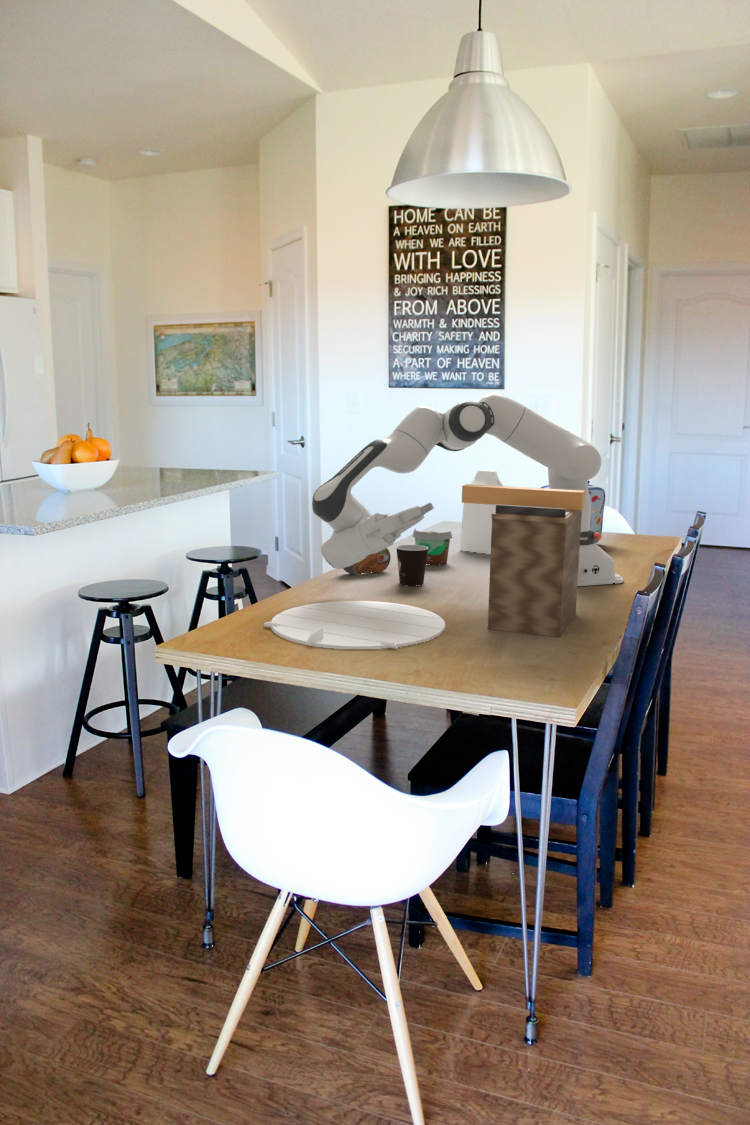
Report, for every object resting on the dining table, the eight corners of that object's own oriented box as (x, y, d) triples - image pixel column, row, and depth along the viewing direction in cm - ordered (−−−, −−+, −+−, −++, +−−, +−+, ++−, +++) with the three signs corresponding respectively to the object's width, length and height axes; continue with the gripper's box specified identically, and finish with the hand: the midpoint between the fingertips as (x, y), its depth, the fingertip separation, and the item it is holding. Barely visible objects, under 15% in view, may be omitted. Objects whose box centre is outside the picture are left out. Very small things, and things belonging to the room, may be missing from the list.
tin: (343, 576, 257) (343, 546, 255) (338, 574, 260) (339, 545, 258) (390, 571, 264) (391, 543, 262) (385, 569, 267) (386, 541, 265)
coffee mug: (424, 588, 244) (425, 551, 242) (393, 586, 245) (393, 549, 243) (431, 579, 255) (431, 543, 253) (400, 577, 256) (401, 542, 254)
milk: (508, 549, 301) (511, 470, 296) (493, 554, 292) (496, 473, 287) (475, 545, 308) (478, 468, 302) (459, 550, 298) (462, 470, 293)
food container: (406, 564, 275) (406, 531, 273) (413, 560, 281) (413, 528, 279) (445, 567, 271) (446, 534, 269) (451, 564, 276) (452, 531, 274)
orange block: (461, 502, 216) (462, 485, 215) (466, 500, 220) (466, 484, 219) (581, 510, 206) (582, 492, 206) (584, 507, 210) (585, 490, 209)
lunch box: (585, 539, 322) (589, 477, 318) (607, 544, 313) (611, 480, 309) (527, 546, 307) (530, 481, 303) (548, 551, 299) (552, 484, 294)
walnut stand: (487, 629, 204) (491, 505, 198) (510, 606, 225) (515, 494, 219) (559, 637, 198) (566, 510, 193) (576, 613, 219) (582, 497, 214)
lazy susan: (391, 663, 180) (391, 647, 179) (232, 634, 198) (232, 619, 198) (472, 619, 214) (473, 605, 213) (330, 598, 233) (330, 585, 232)
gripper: (357, 526, 218) (405, 500, 212) (387, 515, 237) (432, 492, 231) (369, 549, 218) (418, 525, 212) (398, 537, 237) (443, 514, 231)
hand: (425, 507), depth 222 cm, fingers open, 8 cm apart
